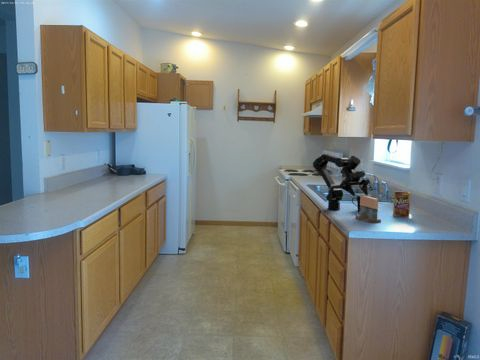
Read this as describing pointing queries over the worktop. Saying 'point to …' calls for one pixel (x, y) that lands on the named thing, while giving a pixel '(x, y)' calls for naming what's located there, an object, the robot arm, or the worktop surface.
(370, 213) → the ticket stand
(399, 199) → the candy box
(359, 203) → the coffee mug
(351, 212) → the worktop surface
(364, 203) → the tan wooden block
